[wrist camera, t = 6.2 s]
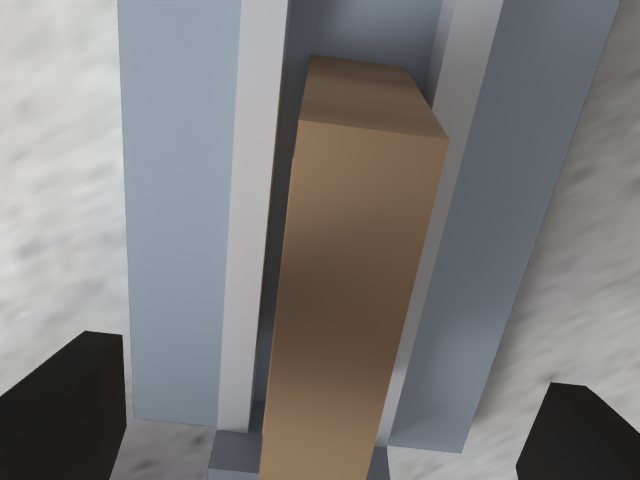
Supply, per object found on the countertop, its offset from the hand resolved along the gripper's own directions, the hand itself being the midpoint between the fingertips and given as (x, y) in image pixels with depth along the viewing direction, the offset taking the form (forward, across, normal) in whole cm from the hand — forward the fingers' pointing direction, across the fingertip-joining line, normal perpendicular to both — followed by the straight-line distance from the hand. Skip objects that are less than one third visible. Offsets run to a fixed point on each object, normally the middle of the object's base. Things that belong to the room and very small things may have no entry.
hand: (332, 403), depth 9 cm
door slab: (+8, 0, 0) cm, 8 cm away
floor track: (+9, 0, 0) cm, 9 cm away
